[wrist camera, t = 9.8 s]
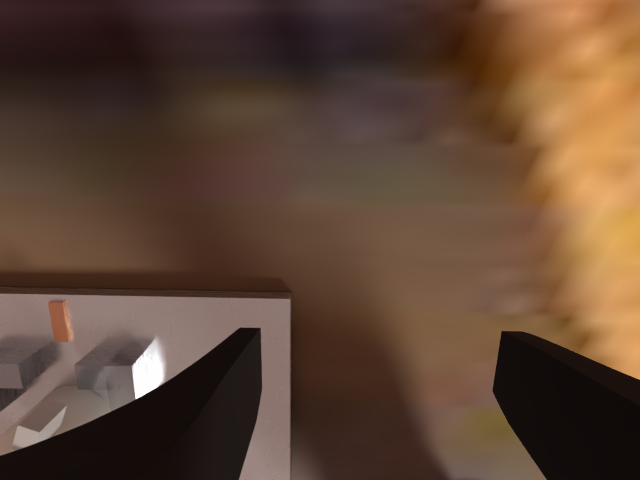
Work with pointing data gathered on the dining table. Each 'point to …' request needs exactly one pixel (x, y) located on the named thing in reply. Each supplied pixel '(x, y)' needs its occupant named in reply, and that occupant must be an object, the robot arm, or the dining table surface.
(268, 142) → the dining table surface
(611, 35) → the dining table surface
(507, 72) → the dining table surface
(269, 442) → the hub plate
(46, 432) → the knob
